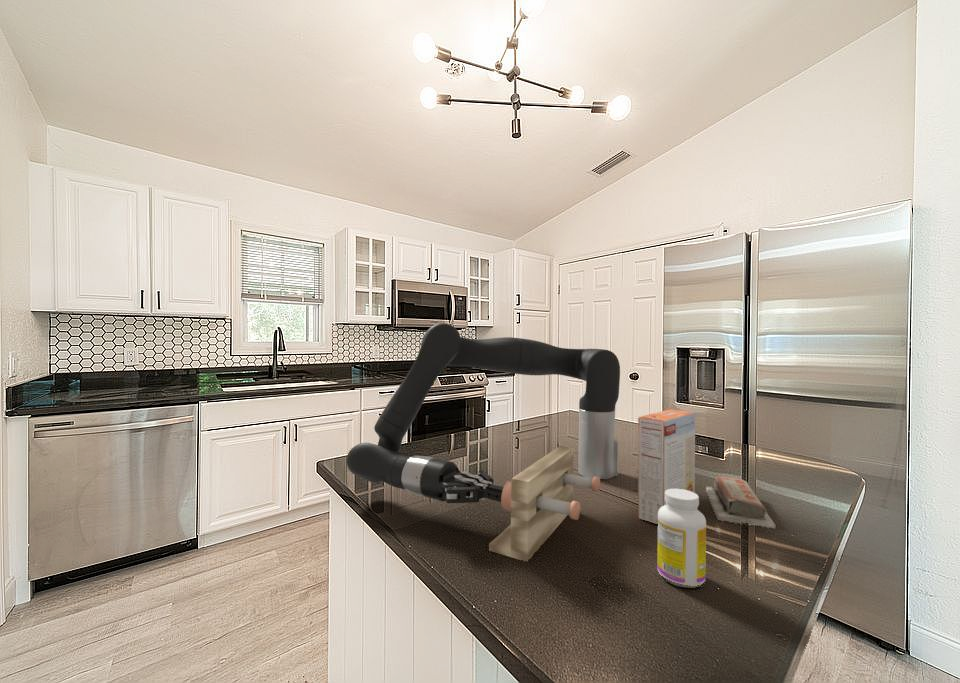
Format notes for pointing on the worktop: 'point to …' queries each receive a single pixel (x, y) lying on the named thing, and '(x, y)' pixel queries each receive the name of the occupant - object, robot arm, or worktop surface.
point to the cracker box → (664, 458)
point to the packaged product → (737, 502)
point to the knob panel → (528, 520)
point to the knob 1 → (544, 503)
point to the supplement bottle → (681, 539)
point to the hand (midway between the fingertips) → (507, 495)
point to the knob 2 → (582, 481)
